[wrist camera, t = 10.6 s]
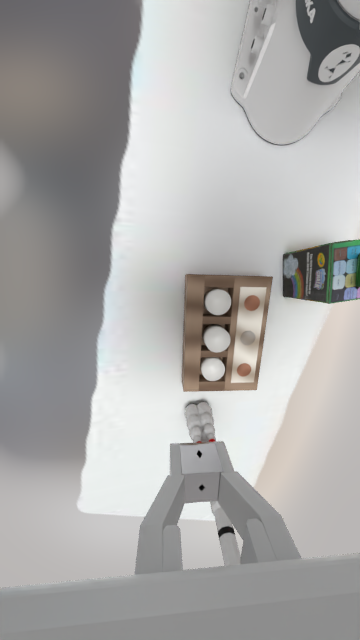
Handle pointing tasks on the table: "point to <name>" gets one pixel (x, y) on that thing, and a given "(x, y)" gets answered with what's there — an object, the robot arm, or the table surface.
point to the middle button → (216, 338)
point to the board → (240, 323)
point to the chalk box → (323, 272)
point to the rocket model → (199, 432)
